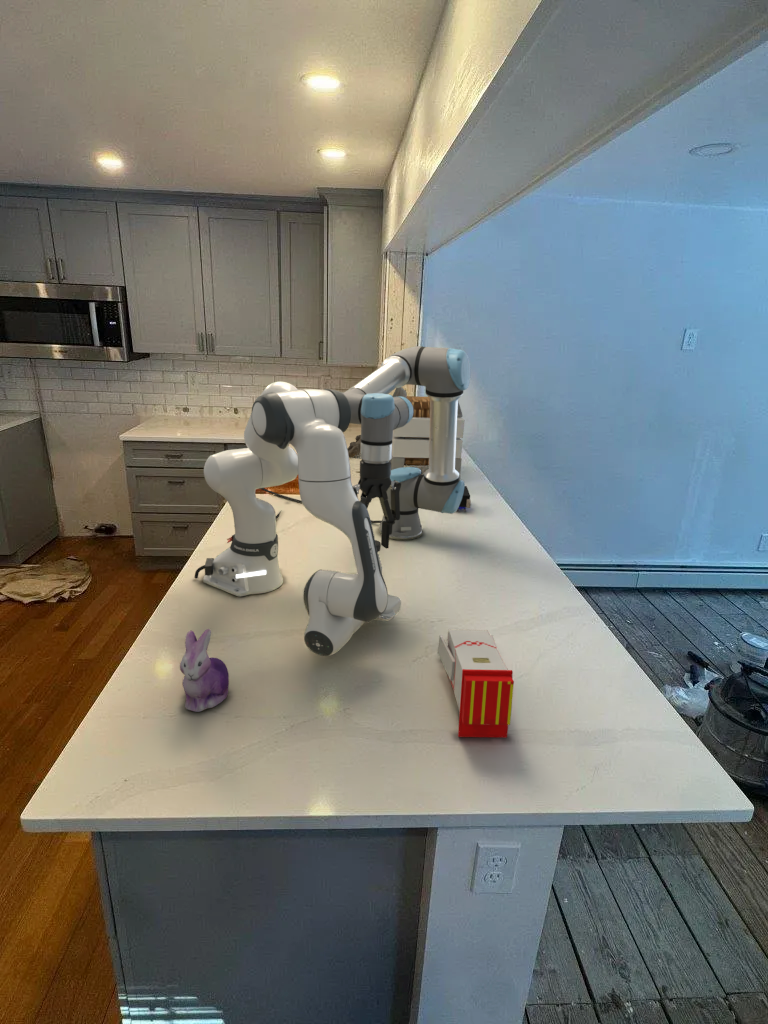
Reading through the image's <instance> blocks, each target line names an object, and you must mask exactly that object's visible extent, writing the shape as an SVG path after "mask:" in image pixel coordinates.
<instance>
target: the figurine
mask: <svg viewBox="0 0 768 1024" xmlns="http://www.w3.org/2000/svg"><path fill="white" fill-rule="evenodd" d="M211 636H212V630H211V628H207V629H205V630H204V631H203V632H202V633H201V635H200V636H199V638H198V639H197V635H196V633H195V632H194V631H193V630H189V631H188V632H187V633H186V635H185V640H184V641H185V642H184V644H185V645H184V648H185V652H184V653H183V656H182V658H181V660H180V662H179V670H180V672H181V673H182V675H184V677H183V679H182V688H183V691H184V694H185V697H186V699H185V702H184V703H185V704H184V707H185V709H186V710H188V711H192V712H195V713H196V712H202V711H205V710H207V709H212V708H215V707H217V706H218V705H219V704H221V703H222V702H223V701H225V700H226V699H227V698H228V694H229V685H230V679H229V678H230V675H229V670H228V667H227V664H225V662H224V661H223V660H222V659H220V658H218V657H210V656H209V654H208V648H209V644H210V641H211Z"/></svg>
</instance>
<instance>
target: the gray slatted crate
mask: <svg viewBox="0 0 768 1024" xmlns="http://www.w3.org/2000/svg"><path fill="white" fill-rule="evenodd" d="M407 394H408V393H407V390H406V389H404V388H403V386H402V387H399V388H395V389H394V392H393V394H392V396H393V397H394V396H397V397H398V396H402V397H405V398H407V399H408V400H409V401H410V402H411V404H412V406H413V412H414V413H413V417H412V419H411V420H410V422H408V423H407V424H406V425H404V426H403V427H400V428H397V429H395V430H393V438H392V459H391V460H390V462H391V470H393V469H397V468H403V467H405V466H406V467H417V466H418V467H429V436H430V398H429V397H428V396H415V395H414V396H413V395H412V396H411V395H407ZM464 429H465V419H464V418H463V411H462V408H461V405H460V402H459V401H458V410H457V432H456V455H455V470H457V471H458V472H459V480H461V472H462V461H463V460H462V453H463V442H464V441H463V440H462V439H463V438H464V431H465V430H464Z"/></svg>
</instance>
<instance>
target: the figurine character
mask: <svg viewBox="0 0 768 1024" xmlns="http://www.w3.org/2000/svg"><path fill="white" fill-rule="evenodd" d="M471 501H472V500H471V494H470V491H469V488H468V486H467V485H465V487H464V493H463V497H462V500H461V503H460V505H459V507H458V509H457V510H456V512H460V510H463V511H464V513H466V512H467V509H470V508H471V505H472V504H471ZM466 508H467V509H466Z"/></svg>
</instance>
